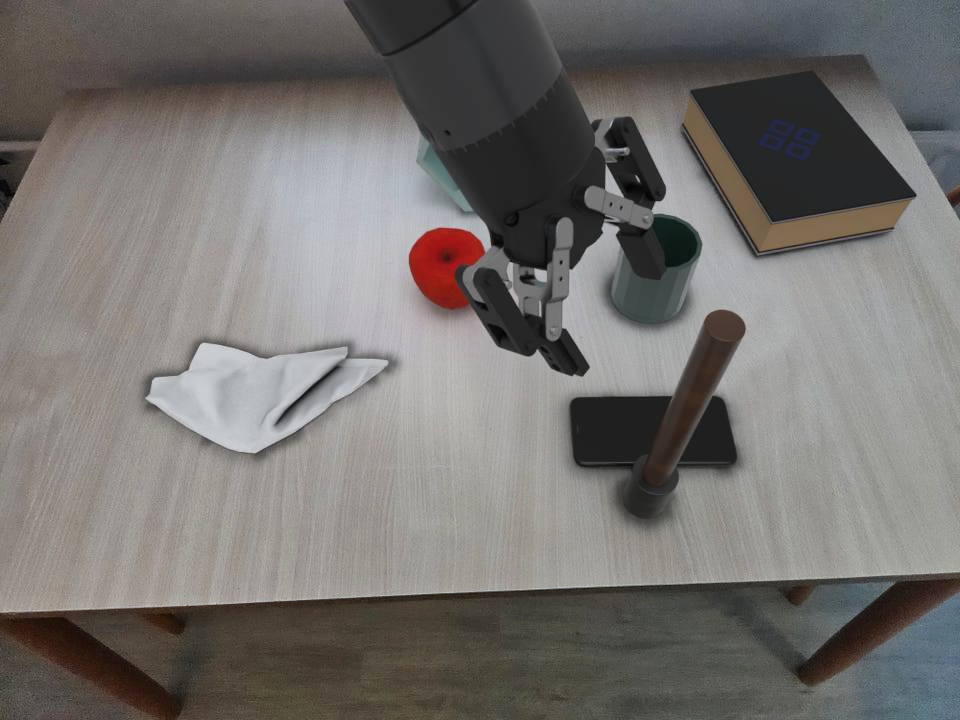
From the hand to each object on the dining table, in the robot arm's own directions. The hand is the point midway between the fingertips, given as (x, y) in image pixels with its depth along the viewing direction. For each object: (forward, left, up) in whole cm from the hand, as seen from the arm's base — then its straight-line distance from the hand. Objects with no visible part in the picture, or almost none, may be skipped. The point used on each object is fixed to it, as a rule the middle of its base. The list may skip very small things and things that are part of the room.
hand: (615, 321), depth 41 cm
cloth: (+24, +25, -26) cm, 44 cm away
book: (+24, -45, -26) cm, 57 cm away
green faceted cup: (+16, -19, -26) cm, 36 cm away
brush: (-4, -4, -26) cm, 27 cm away
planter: (+40, -12, -26) cm, 49 cm away
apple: (+27, +1, -26) cm, 38 cm away
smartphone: (+1, -9, -26) cm, 28 cm away
